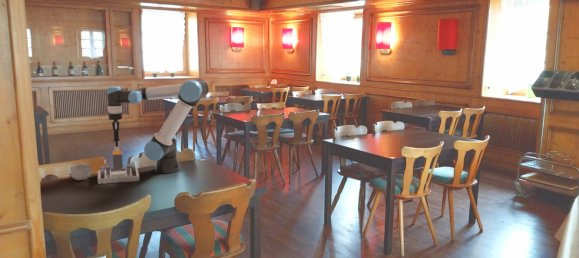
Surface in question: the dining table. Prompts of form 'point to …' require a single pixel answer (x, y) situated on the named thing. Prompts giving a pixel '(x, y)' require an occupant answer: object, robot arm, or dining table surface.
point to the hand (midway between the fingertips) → (117, 151)
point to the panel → (117, 175)
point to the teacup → (81, 171)
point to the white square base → (131, 169)
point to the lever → (117, 161)
